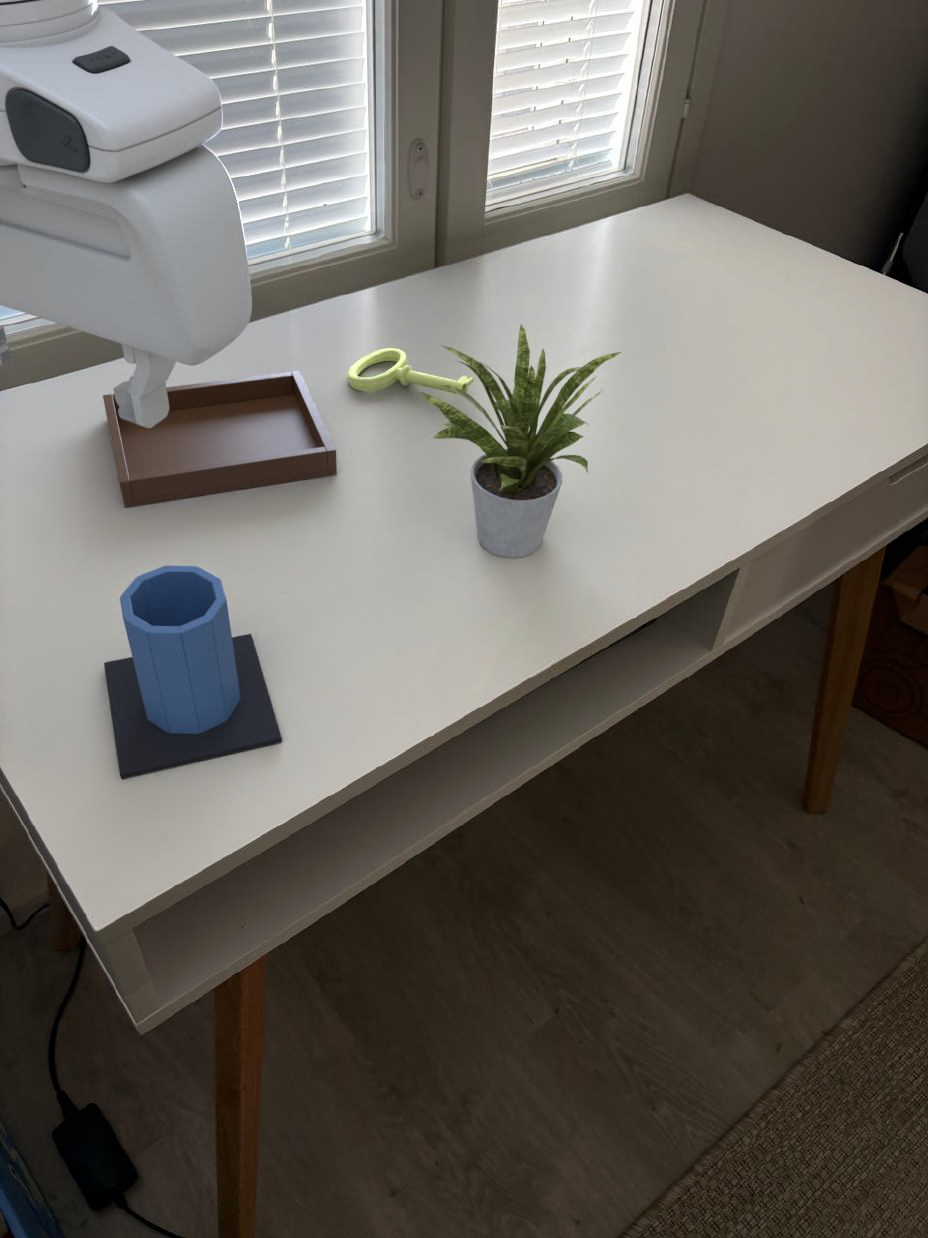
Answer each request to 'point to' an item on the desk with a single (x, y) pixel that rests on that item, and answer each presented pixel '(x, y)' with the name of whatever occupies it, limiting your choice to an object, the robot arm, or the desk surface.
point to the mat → (158, 750)
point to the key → (398, 374)
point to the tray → (222, 440)
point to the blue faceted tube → (182, 648)
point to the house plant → (518, 450)
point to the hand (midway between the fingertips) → (64, 390)
